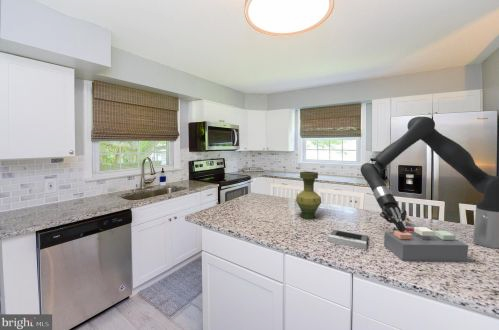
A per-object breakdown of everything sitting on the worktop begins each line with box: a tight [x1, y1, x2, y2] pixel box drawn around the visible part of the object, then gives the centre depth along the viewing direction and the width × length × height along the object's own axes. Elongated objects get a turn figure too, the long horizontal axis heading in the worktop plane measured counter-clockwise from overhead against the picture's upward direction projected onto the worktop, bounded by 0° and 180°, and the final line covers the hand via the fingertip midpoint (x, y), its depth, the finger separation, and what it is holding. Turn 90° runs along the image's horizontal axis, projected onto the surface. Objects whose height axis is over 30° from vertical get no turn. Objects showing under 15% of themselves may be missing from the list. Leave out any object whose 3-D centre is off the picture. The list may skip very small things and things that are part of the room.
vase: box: [295, 171, 322, 221], centre depth 151 cm, size 16×16×30 cm
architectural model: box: [402, 213, 414, 227], centre depth 136 cm, size 3×7×7 cm, turn 168°
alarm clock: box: [327, 228, 369, 250], centre depth 117 cm, size 17×5×16 cm
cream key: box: [414, 226, 435, 240], centre depth 101 cm, size 5×5×6 cm
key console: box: [383, 231, 469, 263], centre depth 101 cm, size 26×14×7 cm, turn 88°
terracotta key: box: [394, 230, 412, 240], centre depth 101 cm, size 5×5×6 cm
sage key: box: [434, 230, 456, 240], centre depth 101 cm, size 5×5×6 cm
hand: (402, 230), depth 101 cm, fingers closed
